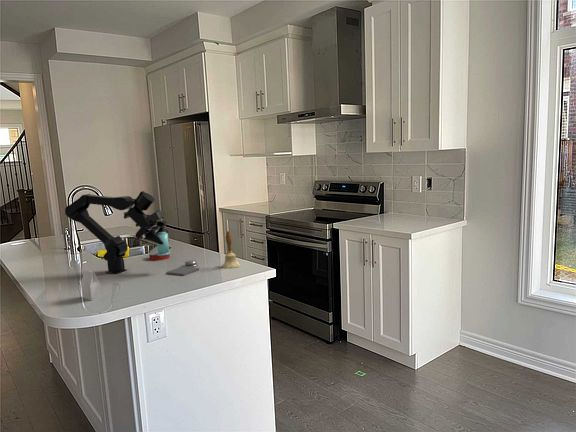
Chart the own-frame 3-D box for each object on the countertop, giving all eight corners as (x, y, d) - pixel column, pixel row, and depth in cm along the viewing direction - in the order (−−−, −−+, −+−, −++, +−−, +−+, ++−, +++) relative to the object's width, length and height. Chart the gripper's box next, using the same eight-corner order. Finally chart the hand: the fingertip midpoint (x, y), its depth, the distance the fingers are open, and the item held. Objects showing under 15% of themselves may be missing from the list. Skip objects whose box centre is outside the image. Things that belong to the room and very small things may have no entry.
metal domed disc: (191, 268, 200) (191, 263, 200) (180, 267, 203) (180, 262, 203) (200, 264, 206) (200, 260, 205) (190, 263, 209) (189, 259, 208)
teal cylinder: (160, 256, 190) (158, 234, 189) (154, 254, 195) (152, 232, 193) (172, 253, 194) (170, 232, 193) (166, 252, 198) (164, 230, 197)
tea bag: (91, 300, 159) (88, 273, 158) (82, 297, 163) (79, 271, 162) (101, 297, 162) (98, 271, 161) (92, 295, 166) (89, 268, 165)
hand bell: (237, 268, 195) (234, 232, 193) (219, 268, 196) (216, 233, 194) (242, 263, 203) (240, 229, 201) (225, 263, 204) (222, 229, 202)
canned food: (167, 268, 222) (165, 253, 216) (147, 267, 222) (144, 251, 216) (173, 253, 231) (171, 238, 225) (154, 252, 231) (151, 237, 225)
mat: (183, 275, 187) (183, 273, 187) (166, 273, 192) (165, 272, 192) (199, 269, 196) (199, 268, 196) (181, 268, 200) (181, 266, 200)
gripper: (139, 207, 183) (166, 233, 182) (161, 202, 201) (185, 226, 200) (124, 226, 186) (150, 252, 185) (147, 220, 204) (171, 243, 203)
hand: (165, 242), depth 193 cm, fingers closed on teal cylinder, 5 cm apart
